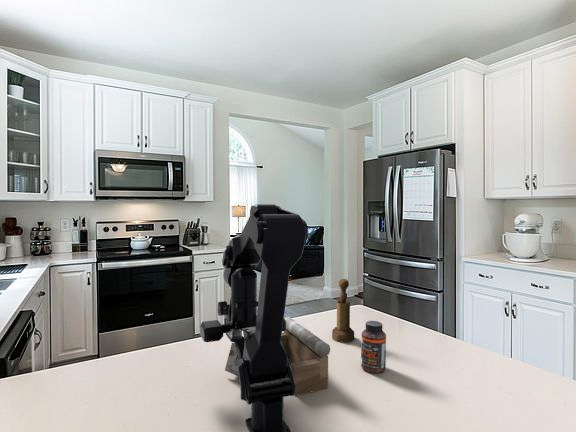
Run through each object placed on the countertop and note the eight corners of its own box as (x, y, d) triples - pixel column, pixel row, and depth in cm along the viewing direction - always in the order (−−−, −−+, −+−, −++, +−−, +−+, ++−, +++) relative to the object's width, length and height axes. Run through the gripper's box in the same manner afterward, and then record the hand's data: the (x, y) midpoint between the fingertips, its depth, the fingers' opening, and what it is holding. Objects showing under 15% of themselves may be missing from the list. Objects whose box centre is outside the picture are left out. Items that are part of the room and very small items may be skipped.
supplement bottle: (357, 370, 86) (358, 324, 86) (364, 361, 92) (365, 317, 91) (382, 376, 84) (383, 328, 83) (388, 366, 89) (388, 321, 89)
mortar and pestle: (330, 341, 105) (330, 280, 105) (333, 333, 112) (334, 276, 111) (352, 343, 103) (353, 281, 103) (355, 335, 110) (356, 277, 109)
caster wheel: (282, 377, 88) (266, 390, 79) (242, 360, 92) (223, 371, 83) (289, 350, 88) (274, 360, 79) (249, 334, 92) (230, 342, 83)
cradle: (330, 387, 78) (330, 342, 78) (294, 395, 75) (294, 348, 74) (292, 353, 96) (292, 316, 96) (262, 358, 93) (262, 320, 93)
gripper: (269, 284, 91) (269, 345, 92) (195, 291, 84) (195, 357, 84) (287, 294, 81) (286, 362, 82) (204, 303, 74) (204, 377, 74)
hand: (243, 364), depth 81 cm, fingers closed
